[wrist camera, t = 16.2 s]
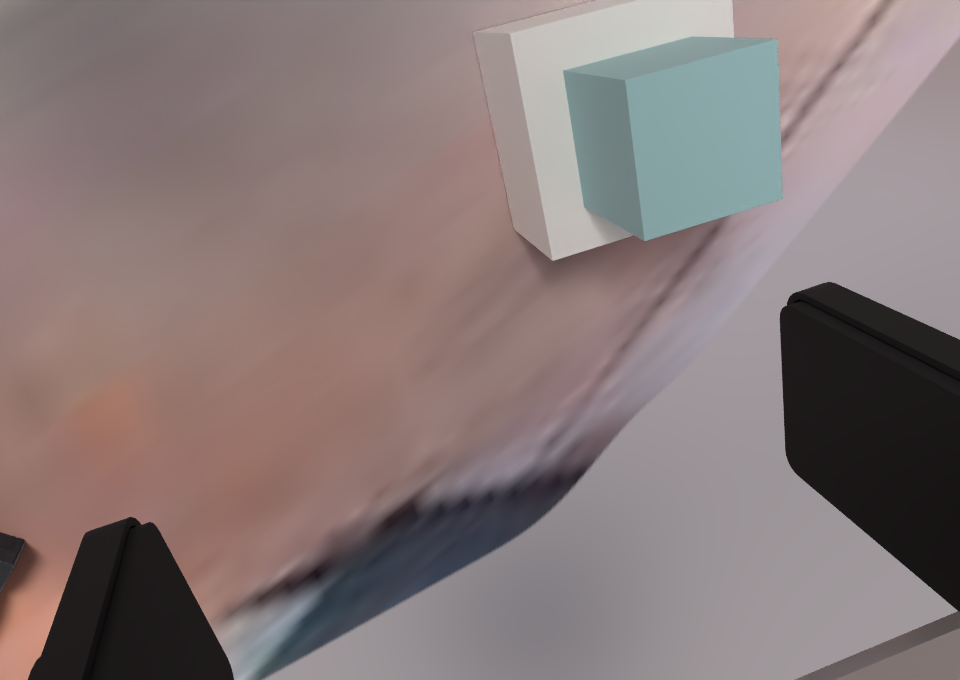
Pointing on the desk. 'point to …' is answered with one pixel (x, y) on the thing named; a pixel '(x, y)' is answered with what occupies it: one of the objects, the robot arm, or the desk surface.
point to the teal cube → (678, 132)
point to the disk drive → (9, 555)
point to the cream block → (544, 106)
